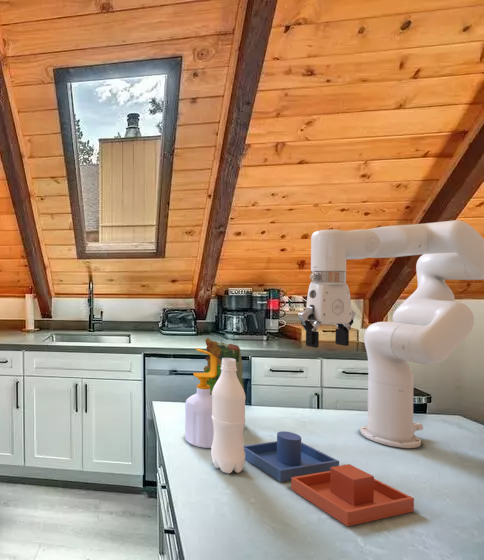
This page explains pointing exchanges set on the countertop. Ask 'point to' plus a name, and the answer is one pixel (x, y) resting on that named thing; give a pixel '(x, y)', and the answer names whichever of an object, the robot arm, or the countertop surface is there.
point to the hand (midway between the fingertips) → (327, 345)
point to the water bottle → (228, 419)
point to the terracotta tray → (320, 495)
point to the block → (352, 484)
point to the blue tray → (267, 461)
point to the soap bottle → (201, 409)
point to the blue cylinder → (289, 448)
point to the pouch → (221, 352)
